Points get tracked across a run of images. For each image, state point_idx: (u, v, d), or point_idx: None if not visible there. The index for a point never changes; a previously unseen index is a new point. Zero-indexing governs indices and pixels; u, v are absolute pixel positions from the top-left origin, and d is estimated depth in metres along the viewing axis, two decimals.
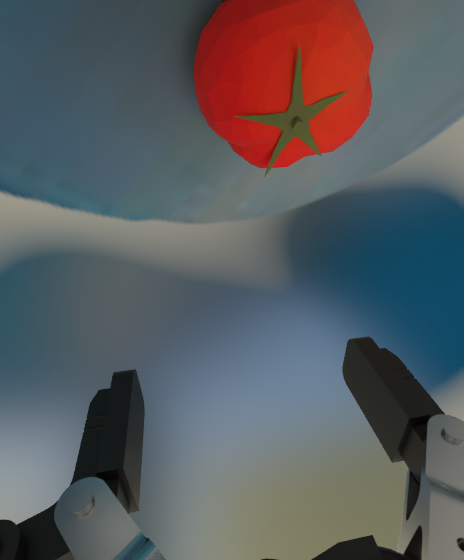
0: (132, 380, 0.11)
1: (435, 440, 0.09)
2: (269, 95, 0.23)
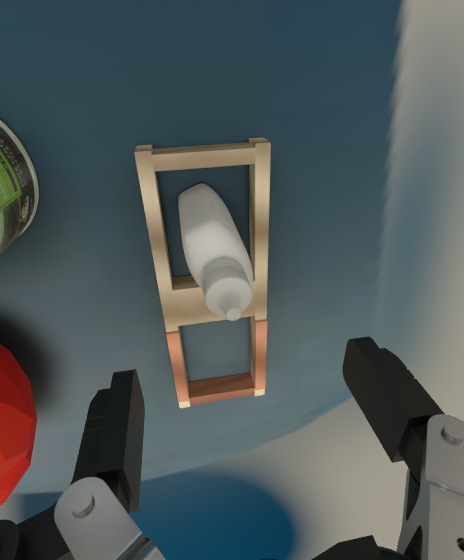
0: (132, 380, 0.11)
1: (435, 440, 0.09)
2: None
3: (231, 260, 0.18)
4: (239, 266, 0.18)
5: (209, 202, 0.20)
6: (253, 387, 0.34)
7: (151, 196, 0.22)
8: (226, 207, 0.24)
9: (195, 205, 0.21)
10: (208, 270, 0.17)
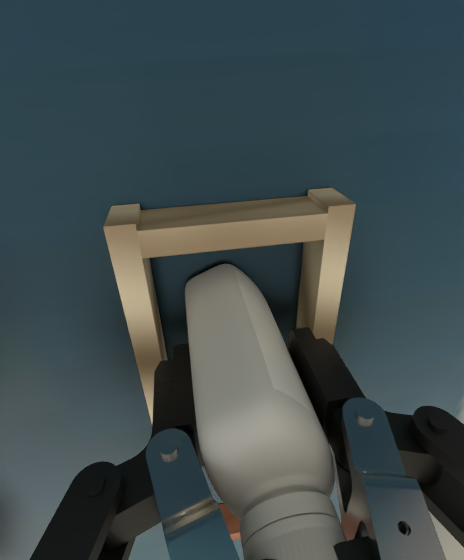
0: None
1: (352, 427, 0.09)
2: None
3: (310, 501, 0.08)
4: (329, 516, 0.08)
5: (247, 325, 0.11)
6: None
7: (137, 297, 0.12)
8: (265, 301, 0.14)
9: (219, 329, 0.11)
10: (260, 530, 0.08)
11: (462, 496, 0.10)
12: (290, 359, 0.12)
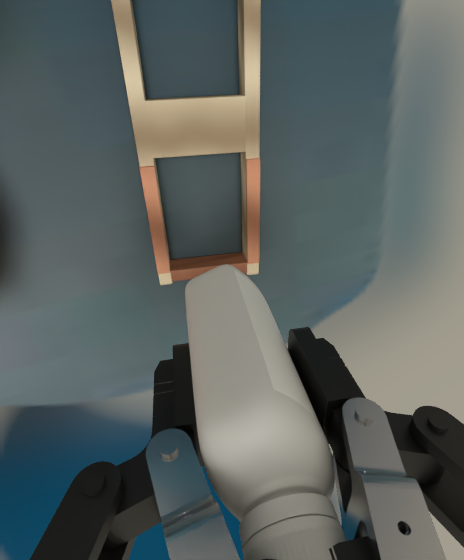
0: None
1: (352, 427, 0.09)
2: None
3: (310, 502, 0.08)
4: (329, 517, 0.08)
5: (247, 326, 0.11)
6: (245, 262, 0.29)
7: None
8: (265, 302, 0.14)
9: (219, 330, 0.11)
10: (260, 532, 0.08)
11: (462, 496, 0.10)
12: (290, 360, 0.12)
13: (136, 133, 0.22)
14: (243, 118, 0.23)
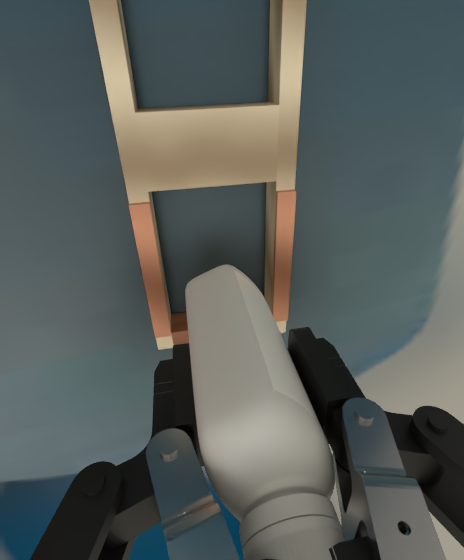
0: None
1: (352, 427, 0.09)
2: None
3: (310, 503, 0.08)
4: (329, 518, 0.08)
5: (247, 326, 0.11)
6: None
7: None
8: (265, 302, 0.14)
9: (219, 330, 0.11)
10: (260, 532, 0.08)
11: (462, 496, 0.10)
12: (290, 360, 0.12)
13: (123, 158, 0.16)
14: (275, 136, 0.16)
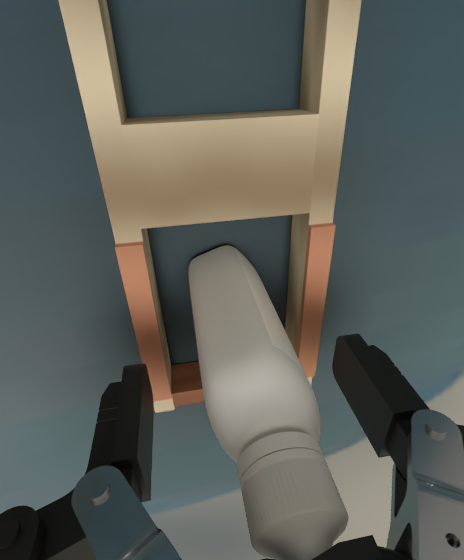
0: (142, 373, 0.11)
1: (419, 435, 0.09)
2: None
3: (301, 439, 0.09)
4: (316, 452, 0.09)
5: (248, 295, 0.12)
6: None
7: None
8: None
9: (222, 298, 0.12)
10: (257, 461, 0.09)
11: None
12: (284, 330, 0.13)
13: (106, 186, 0.12)
14: (311, 155, 0.12)
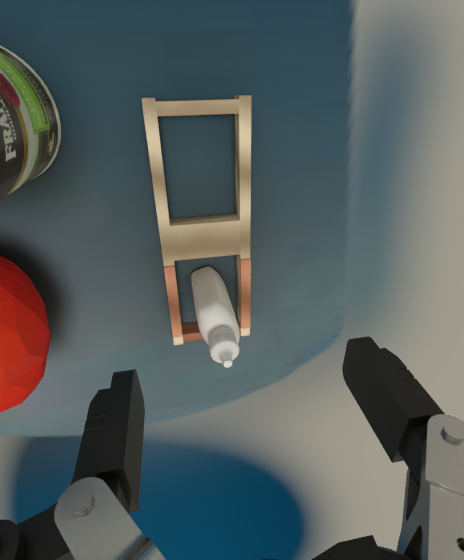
0: (132, 380, 0.11)
1: (435, 440, 0.09)
2: None
3: (227, 328, 0.29)
4: (232, 332, 0.29)
5: (214, 285, 0.32)
6: (239, 327, 0.38)
7: (154, 138, 0.27)
8: (223, 282, 0.36)
9: (204, 286, 0.32)
10: (213, 334, 0.29)
11: None
12: (229, 300, 0.33)
13: (162, 245, 0.32)
14: (238, 233, 0.32)
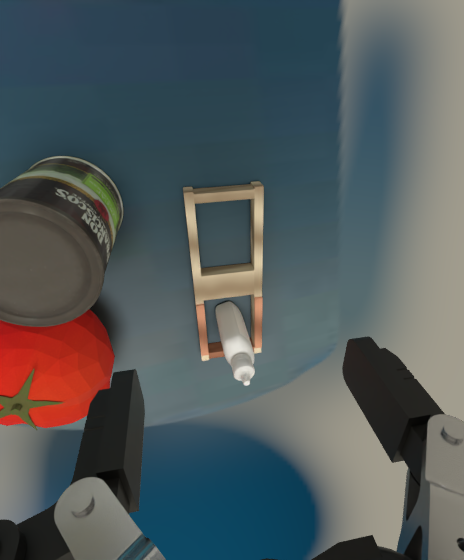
0: (132, 380, 0.11)
1: (435, 440, 0.09)
2: (2, 384, 0.31)
3: (245, 355, 0.39)
4: (249, 358, 0.39)
5: (234, 320, 0.42)
6: (253, 346, 0.48)
7: (191, 217, 0.37)
8: (240, 313, 0.46)
9: (227, 320, 0.42)
10: (235, 359, 0.39)
11: None
12: (246, 330, 0.43)
13: (195, 290, 0.42)
14: (253, 279, 0.42)
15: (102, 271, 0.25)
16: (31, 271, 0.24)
